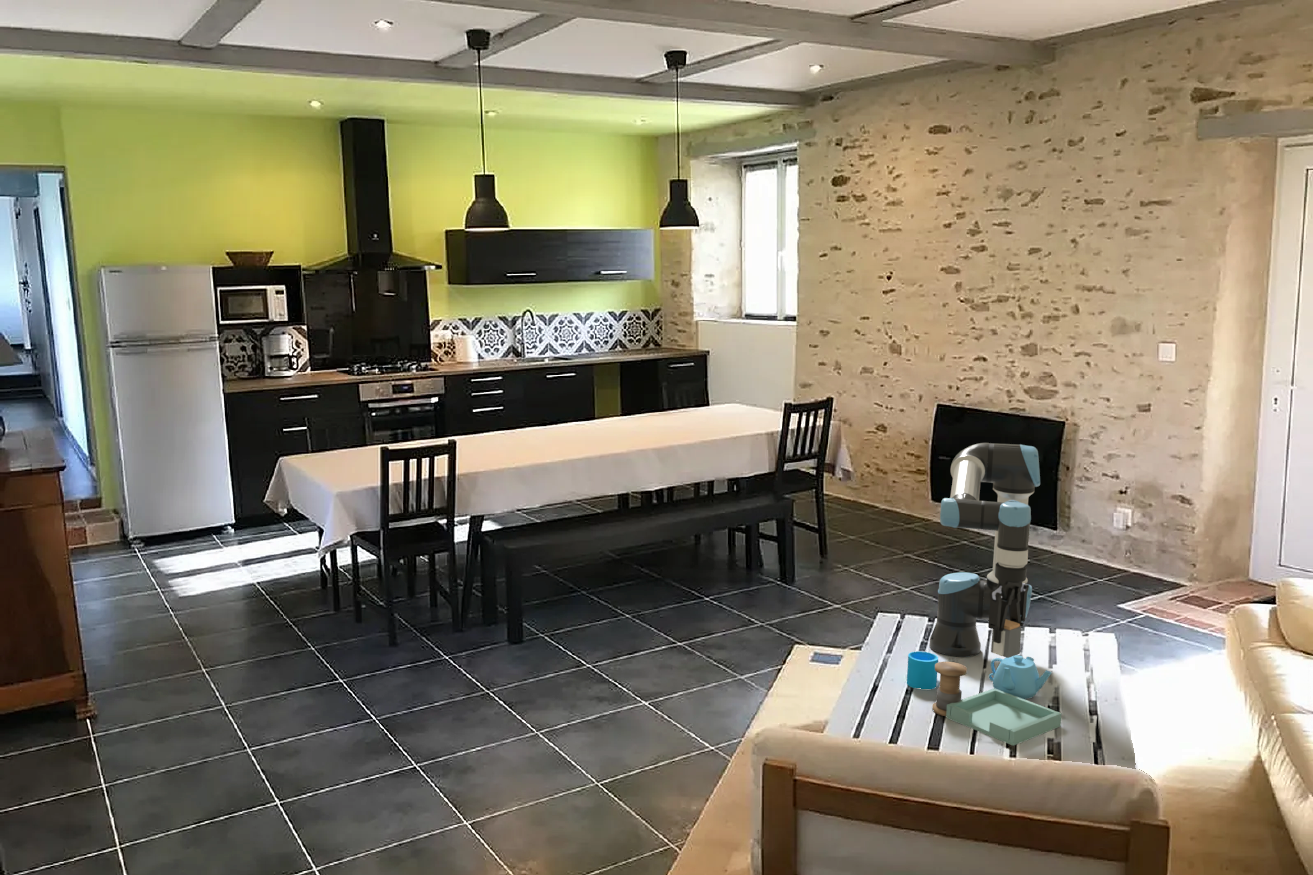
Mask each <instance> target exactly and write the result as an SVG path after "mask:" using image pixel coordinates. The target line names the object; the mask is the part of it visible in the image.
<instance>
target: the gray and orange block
mask: <svg viewBox="0 0 1313 875" xmlns="http://www.w3.org/2000/svg"><path fill="white" fill-rule="evenodd" d="M991 630H992V632H991V645H990V646H991V647H990V652H991V653H992V654H994V653H993V644H994V641H993V639H994V629H991ZM1003 630H1004V631H1005V644H1004V656H1003V657H1004V658H1009V657H1012V656H1015V655H1019V654H1020V652H1021V649H1020V648H1021V637H1022V626H1020V624H1019V623H1016V622H1013V621H1010V620H1007V619H1006V620H1005V625H1004V629H1003Z"/></svg>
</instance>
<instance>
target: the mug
mask: <svg viewBox="0 0 1313 875" xmlns="http://www.w3.org/2000/svg"><path fill="white" fill-rule="evenodd" d="M938 662H939V656H938V655H936V654H934V653H931V652H928V651H918V650H917V651H912V652H908V655H907V672H906V673H907V674H906V685H907V686H908V687H910V688H913V689H915V688H921V689H931V690H934V689H936V688H937V687H938V686H937V684H938V682H937V681H938V672H936V671H935V664H936V663H938ZM935 687H936V688H935ZM921 689H920V690H921Z"/></svg>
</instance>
